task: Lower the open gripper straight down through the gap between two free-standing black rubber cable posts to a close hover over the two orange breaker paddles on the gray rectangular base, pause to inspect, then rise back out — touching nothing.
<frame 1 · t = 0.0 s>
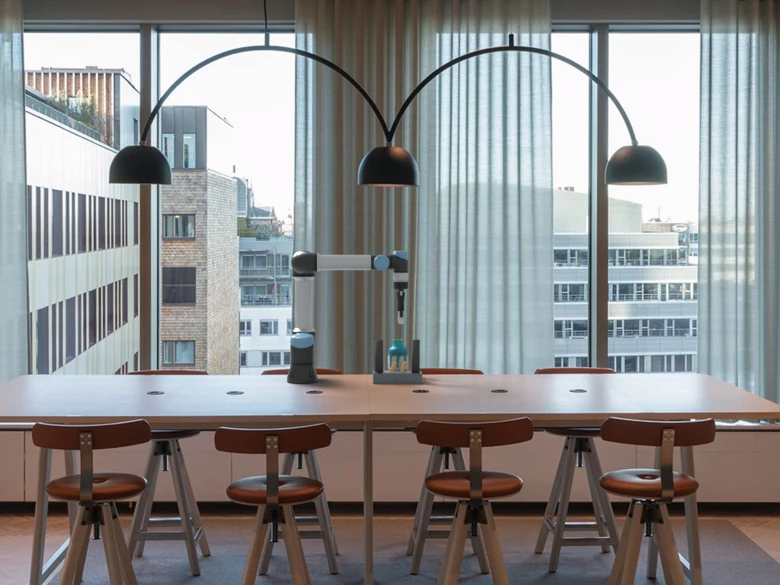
hand: (400, 322, 483), 28 cm above the table, fingers open, 13 cm apart
paddle 1: (393, 366, 467), point 8 cm above the table, hinge at 25.0°
vase: (398, 377, 488), on the table
post right: (415, 372, 468), point 5 cm above the table, touching gray rectangular base
post left: (379, 372, 467), point 5 cm above the table, touching gray rectangular base
paddle 2: (403, 366, 467), point 8 cm above the table, hinge at 25.0°
gray rectangular base: (397, 382, 468), on the table
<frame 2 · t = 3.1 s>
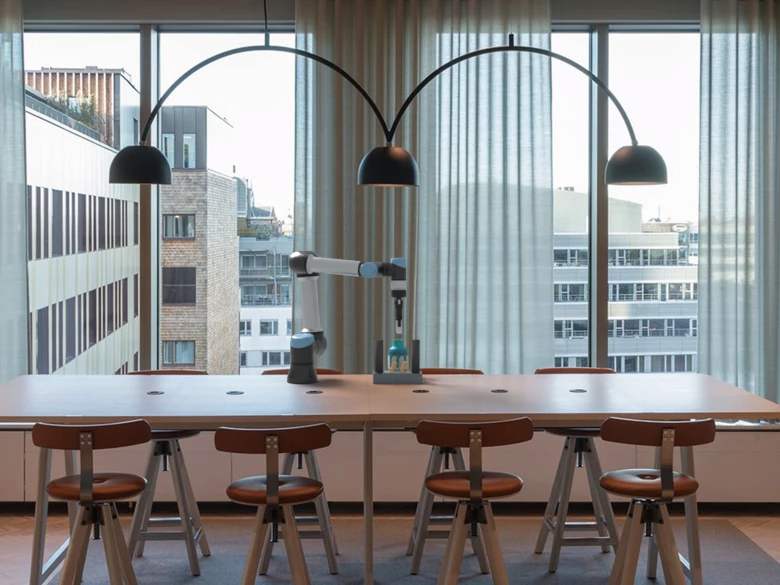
hand: (398, 332, 466), 25 cm above the table, fingers open, 13 cm apart
nothing on the table moved.
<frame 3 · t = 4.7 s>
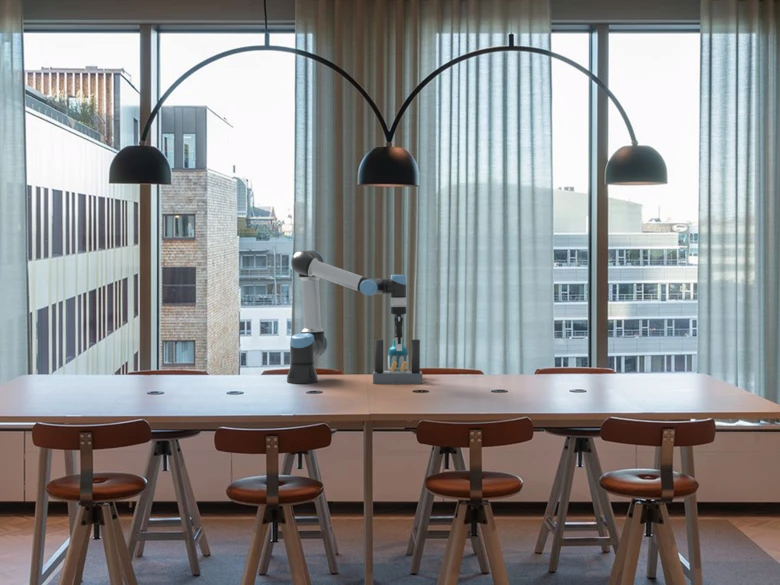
hand: (398, 349, 467), 16 cm above the table, fingers open, 13 cm apart
nothing on the table moved.
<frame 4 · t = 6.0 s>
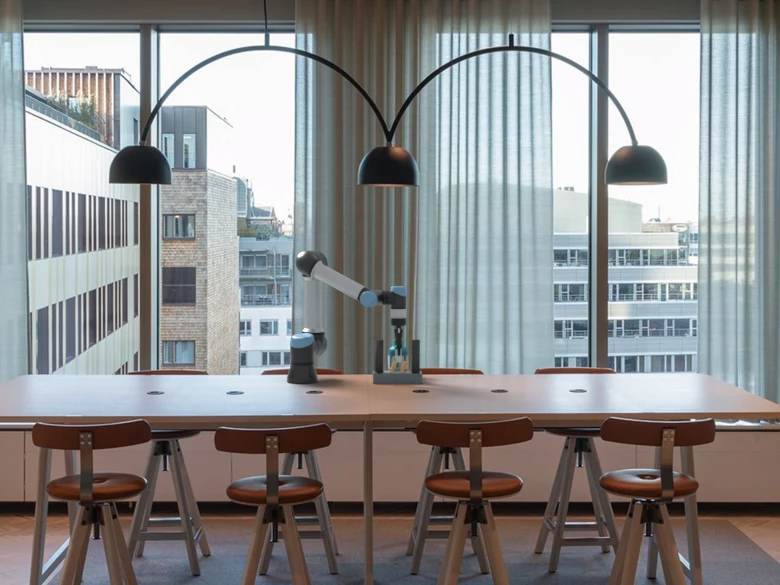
hand: (398, 360, 467), 11 cm above the table, fingers open, 13 cm apart
nothing on the table moved.
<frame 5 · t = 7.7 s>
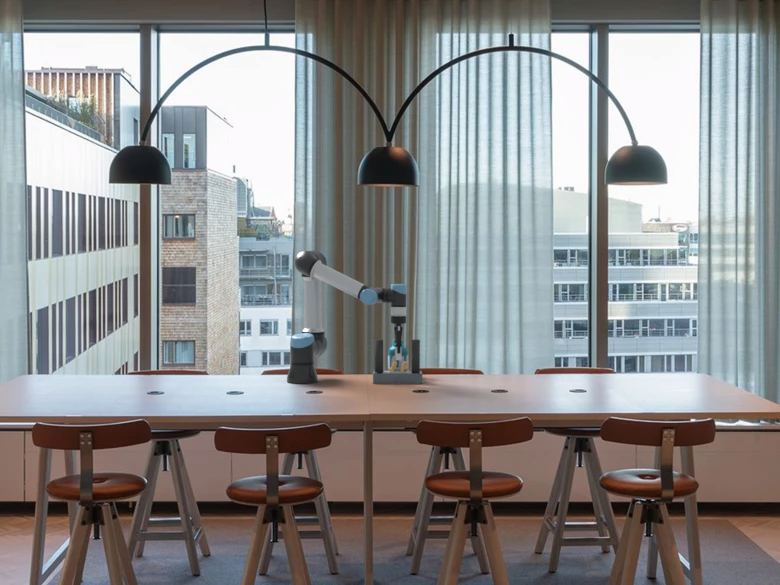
hand: (398, 358, 467), 12 cm above the table, fingers open, 13 cm apart
nothing on the table moved.
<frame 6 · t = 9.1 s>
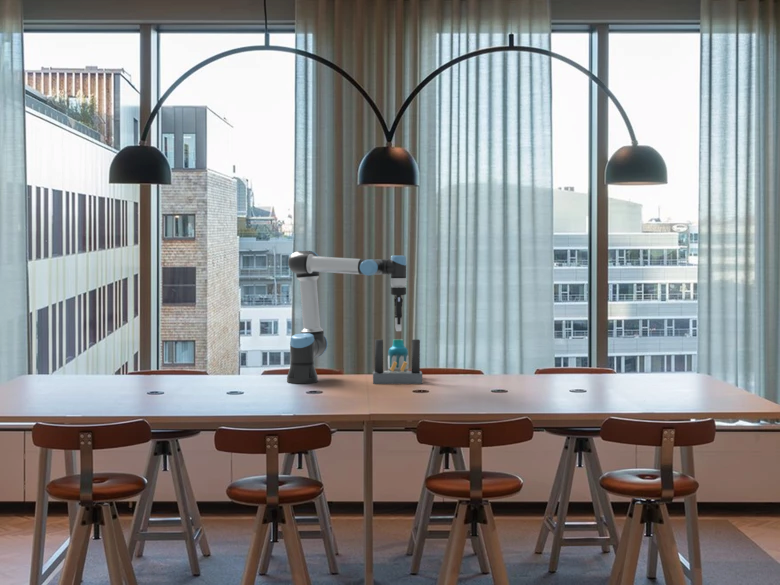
hand: (398, 330, 466), 26 cm above the table, fingers open, 13 cm apart
nothing on the table moved.
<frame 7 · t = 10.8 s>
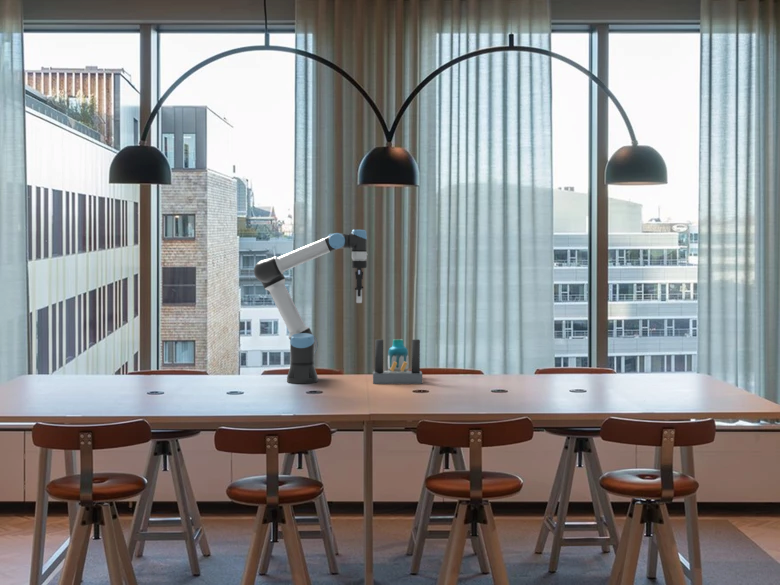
hand: (359, 302, 480), 39 cm above the table, fingers open, 13 cm apart
nothing on the table moved.
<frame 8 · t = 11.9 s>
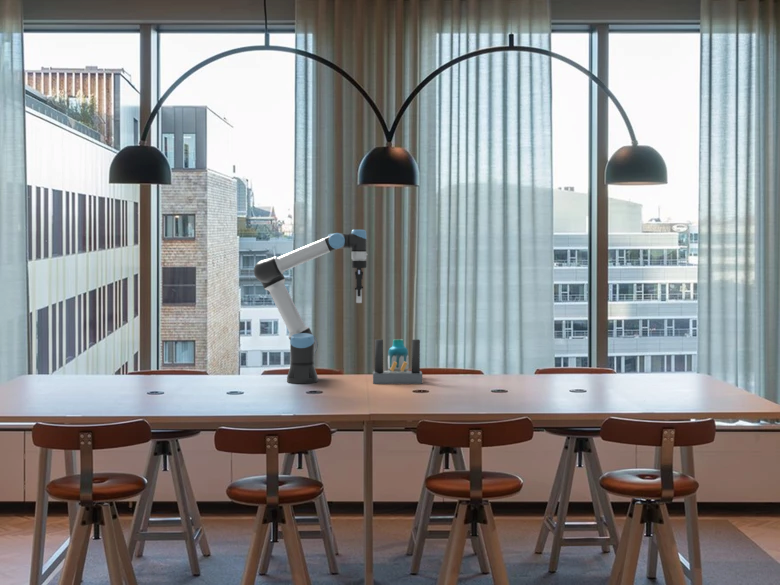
hand: (359, 302, 480), 39 cm above the table, fingers open, 13 cm apart
nothing on the table moved.
at the end: paddle 2 at +25° (first picture: +25°); post left moved 0.0 cm from its start; post right moved 0.0 cm from its start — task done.
